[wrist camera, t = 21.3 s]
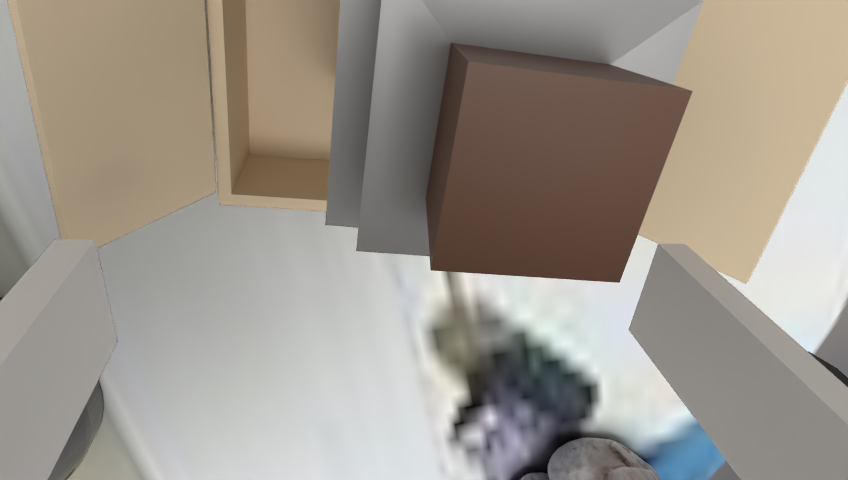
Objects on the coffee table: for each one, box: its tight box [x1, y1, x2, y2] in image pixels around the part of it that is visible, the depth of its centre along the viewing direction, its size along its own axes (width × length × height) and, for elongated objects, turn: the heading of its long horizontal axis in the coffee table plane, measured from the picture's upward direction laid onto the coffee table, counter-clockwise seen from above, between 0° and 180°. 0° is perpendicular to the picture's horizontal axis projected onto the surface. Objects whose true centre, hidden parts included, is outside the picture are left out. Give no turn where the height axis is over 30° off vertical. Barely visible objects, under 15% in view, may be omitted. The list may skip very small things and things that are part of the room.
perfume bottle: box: [325, 0, 703, 282], centre depth 16 cm, size 7×7×18 cm
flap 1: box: [7, 0, 216, 248], centre depth 15 cm, size 6×13×1 cm
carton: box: [207, 0, 340, 211], centre depth 22 cm, size 16×15×5 cm
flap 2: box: [638, 0, 848, 284], centre depth 19 cm, size 6×13×1 cm
